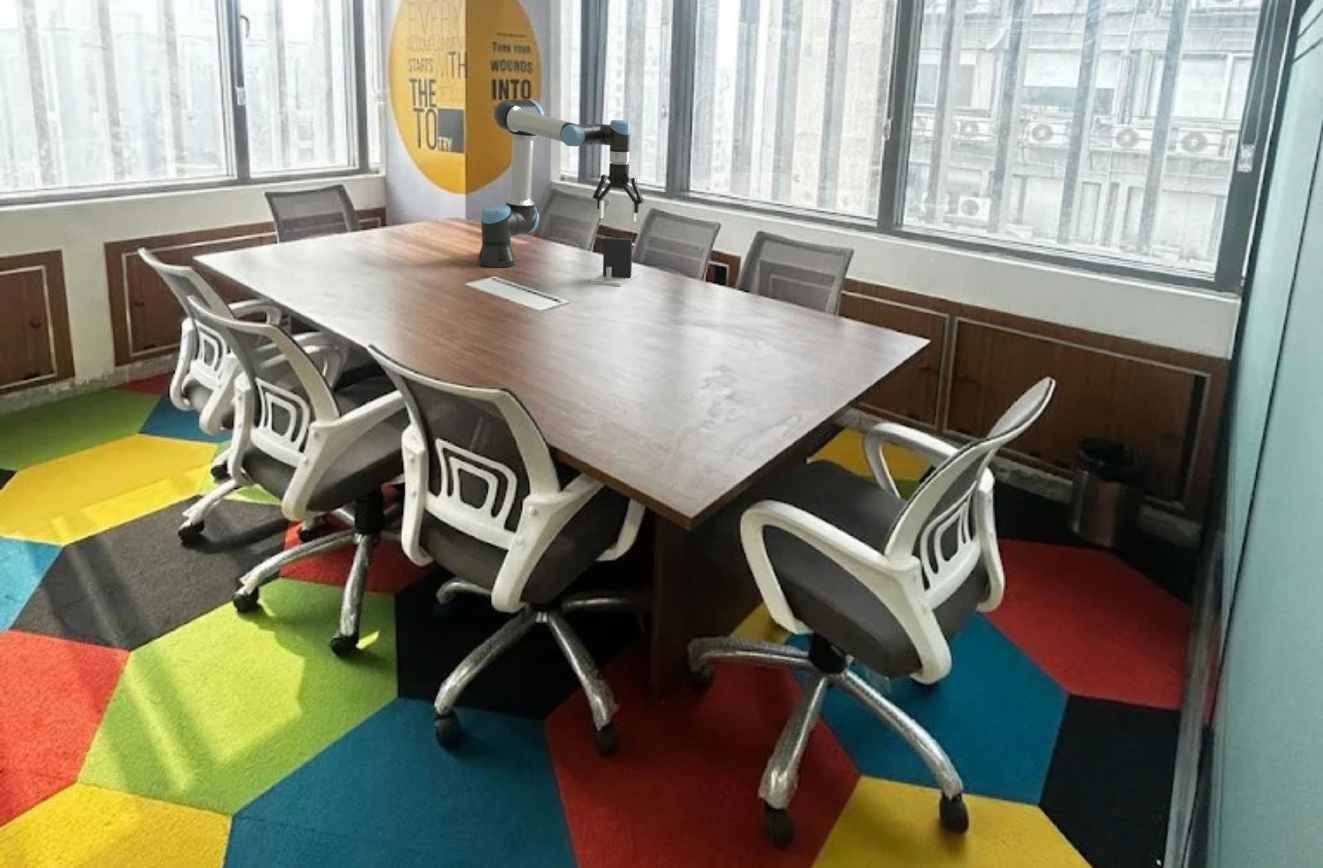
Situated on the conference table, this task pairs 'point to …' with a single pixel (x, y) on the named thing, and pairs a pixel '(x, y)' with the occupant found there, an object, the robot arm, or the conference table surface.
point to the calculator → (617, 256)
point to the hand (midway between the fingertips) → (617, 219)
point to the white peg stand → (614, 278)
